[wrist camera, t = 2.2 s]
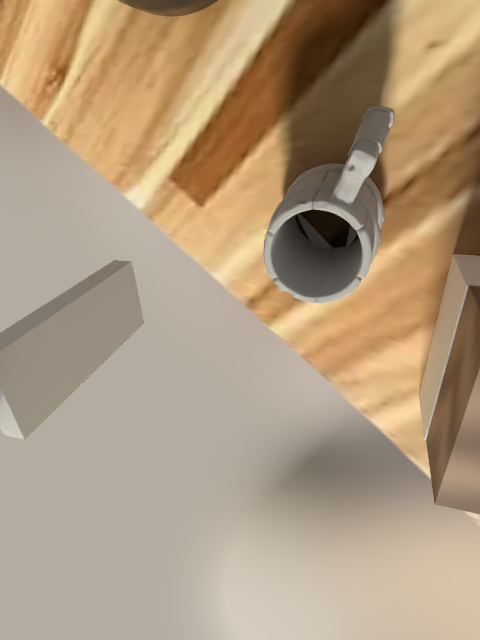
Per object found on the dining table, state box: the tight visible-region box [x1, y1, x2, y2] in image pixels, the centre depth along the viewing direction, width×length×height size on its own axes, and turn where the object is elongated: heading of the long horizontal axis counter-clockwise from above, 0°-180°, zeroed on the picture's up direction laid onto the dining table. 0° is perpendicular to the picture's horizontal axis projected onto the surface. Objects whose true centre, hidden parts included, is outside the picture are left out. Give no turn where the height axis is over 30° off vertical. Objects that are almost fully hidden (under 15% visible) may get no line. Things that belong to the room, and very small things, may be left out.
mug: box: [264, 106, 394, 303], centre depth 24 cm, size 8×12×12 cm, turn 162°
